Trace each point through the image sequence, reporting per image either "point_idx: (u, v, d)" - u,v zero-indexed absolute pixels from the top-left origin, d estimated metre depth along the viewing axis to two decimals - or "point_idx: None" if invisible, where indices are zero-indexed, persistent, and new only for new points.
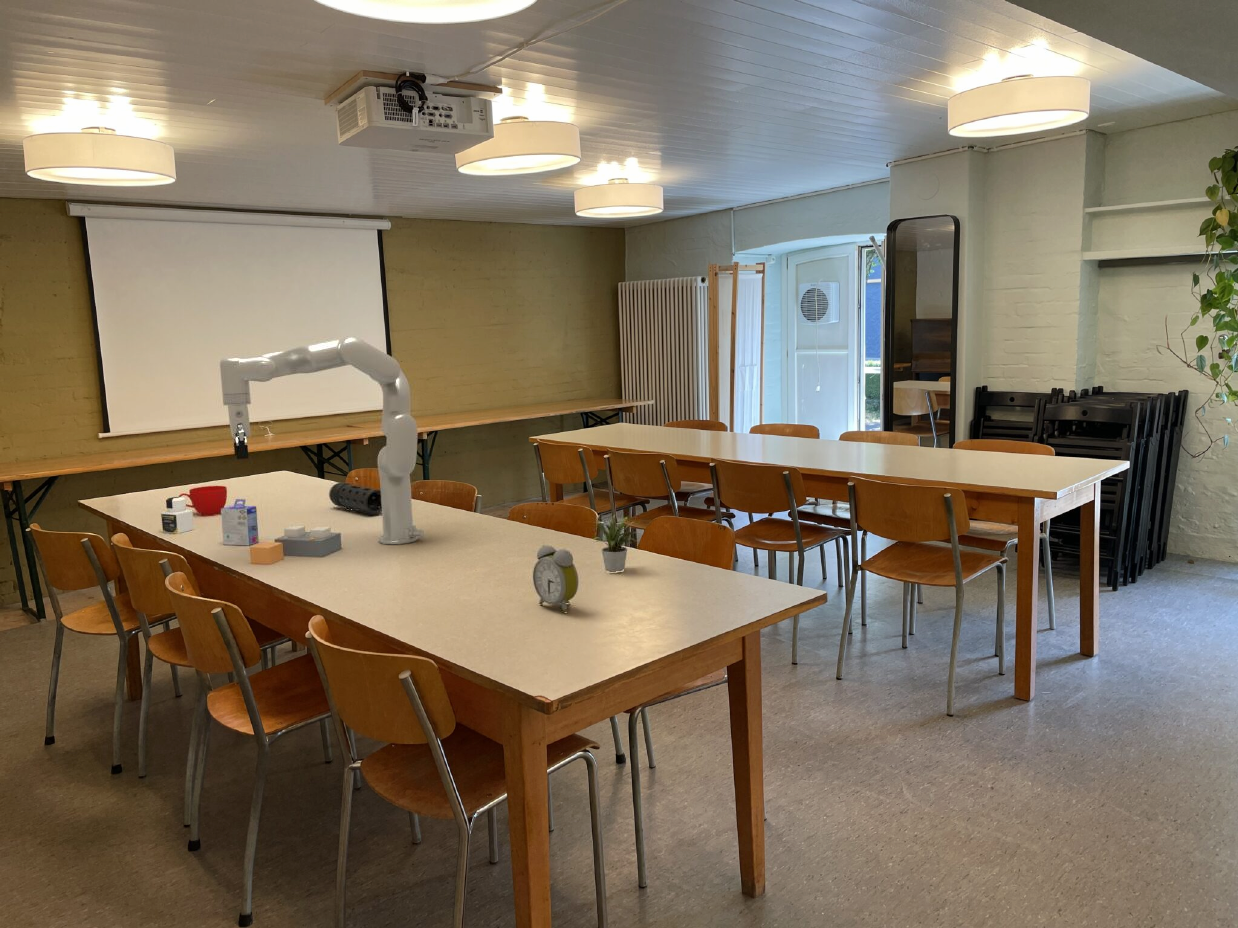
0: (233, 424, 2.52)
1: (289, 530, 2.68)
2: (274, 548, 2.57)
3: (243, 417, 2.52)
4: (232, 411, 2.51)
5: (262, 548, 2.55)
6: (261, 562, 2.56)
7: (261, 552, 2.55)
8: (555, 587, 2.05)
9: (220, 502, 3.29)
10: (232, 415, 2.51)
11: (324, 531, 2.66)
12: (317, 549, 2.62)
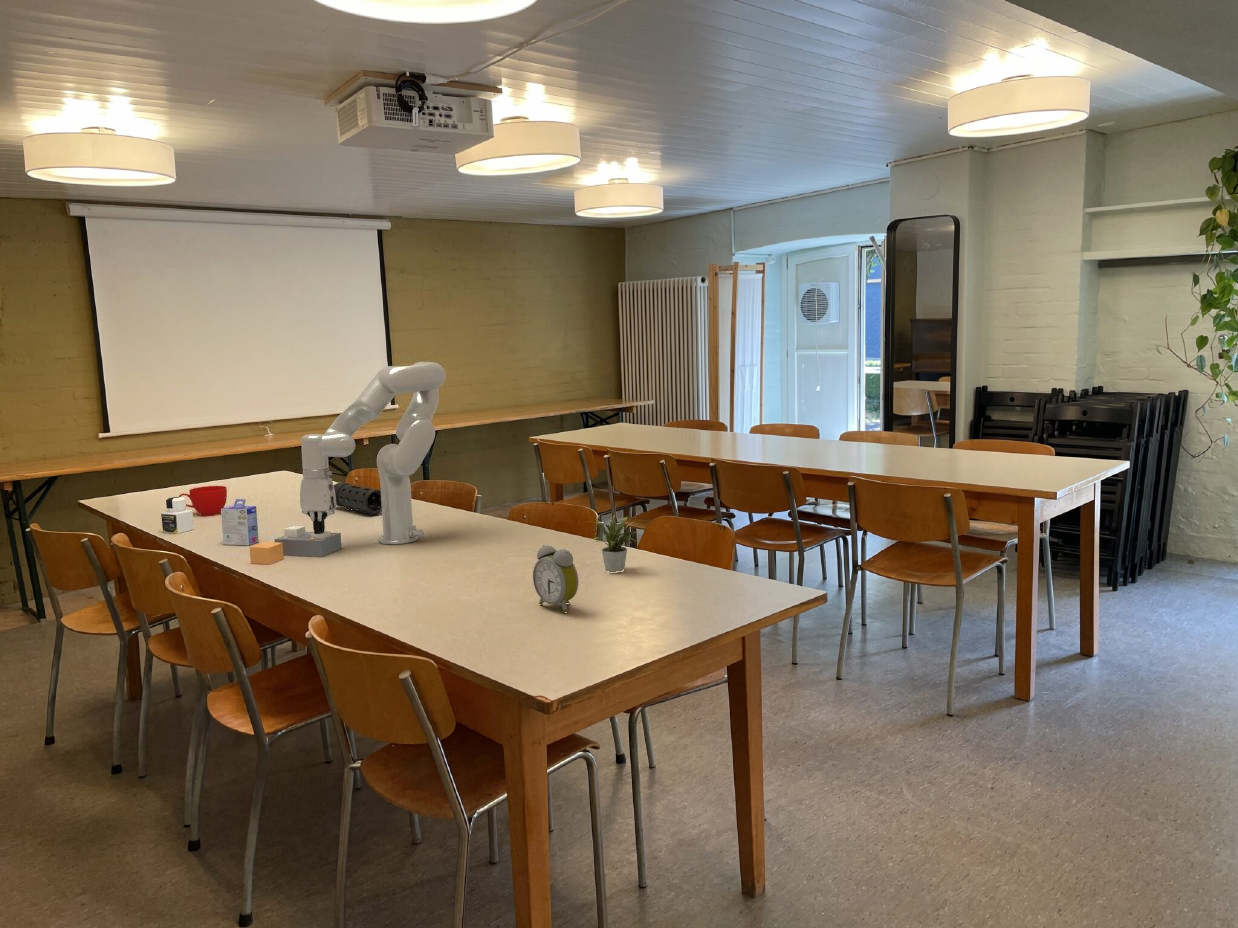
0: (328, 497, 2.63)
1: (289, 530, 2.68)
2: (274, 548, 2.57)
3: (333, 490, 2.66)
4: (326, 485, 2.63)
5: (262, 548, 2.55)
6: (261, 562, 2.56)
7: (261, 552, 2.55)
8: (555, 587, 2.05)
9: (220, 502, 3.29)
10: (326, 489, 2.63)
11: (324, 535, 2.66)
12: (317, 549, 2.62)
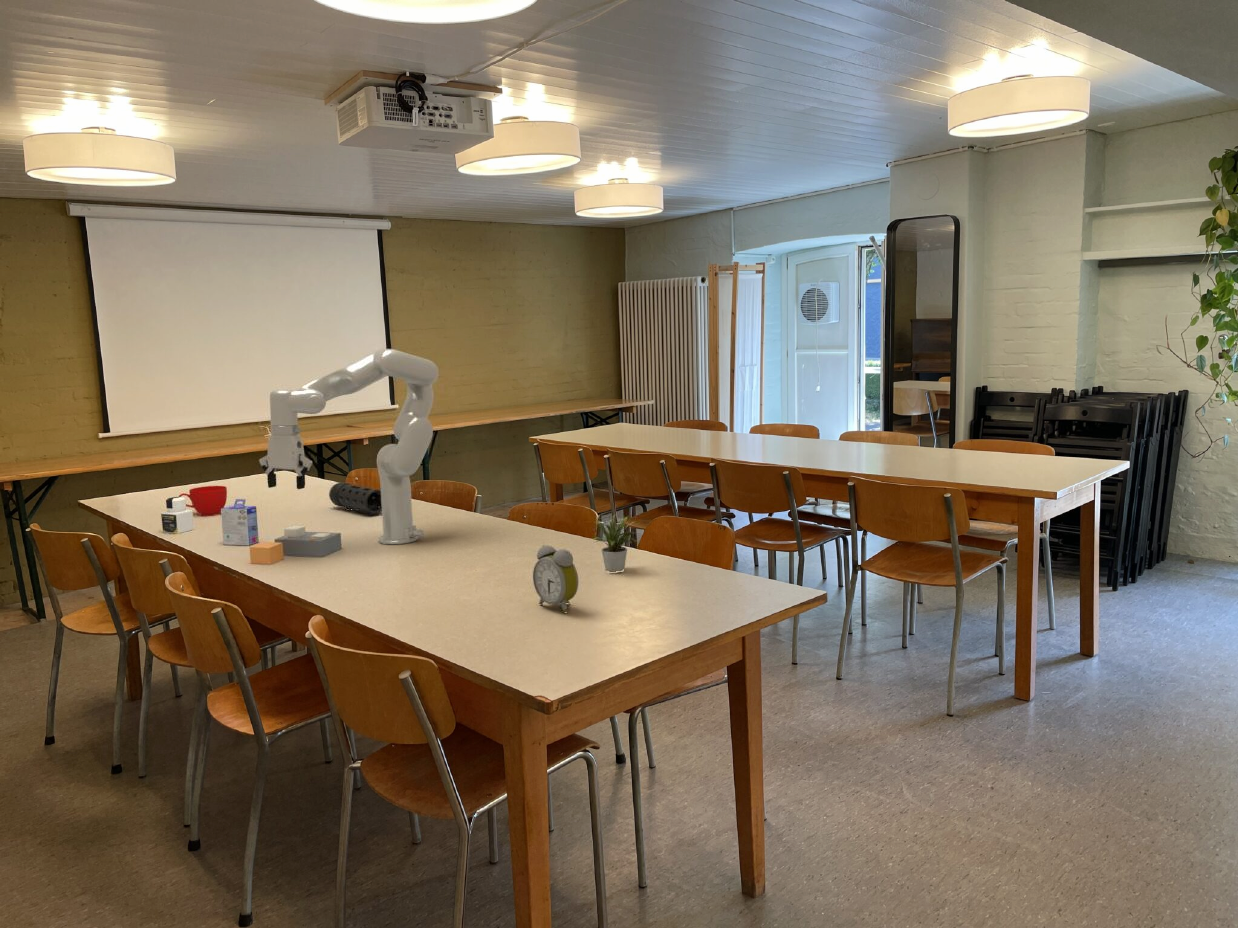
0: (296, 455, 2.56)
1: (289, 530, 2.68)
2: (274, 548, 2.57)
3: (301, 448, 2.59)
4: (294, 442, 2.56)
5: (262, 548, 2.55)
6: (261, 562, 2.56)
7: (261, 552, 2.55)
8: (555, 587, 2.05)
9: (220, 502, 3.29)
10: (294, 446, 2.56)
11: (324, 537, 2.66)
12: (317, 549, 2.62)
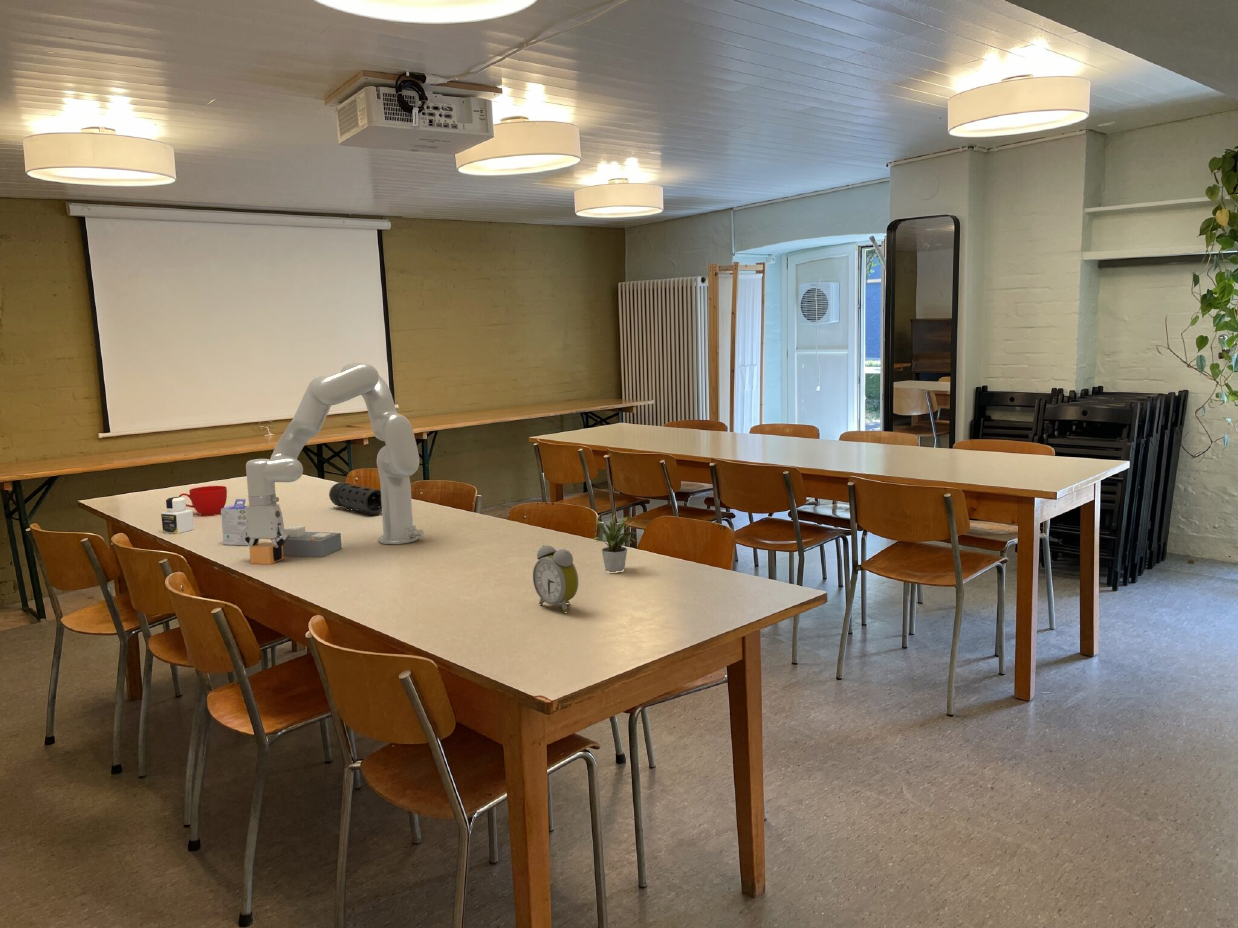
0: (275, 525, 2.55)
1: (289, 530, 2.68)
2: None
3: (280, 516, 2.57)
4: (272, 512, 2.54)
5: (262, 548, 2.55)
6: (261, 562, 2.56)
7: (261, 552, 2.55)
8: (555, 587, 2.05)
9: (220, 502, 3.29)
10: (273, 516, 2.54)
11: (324, 537, 2.66)
12: (317, 549, 2.62)
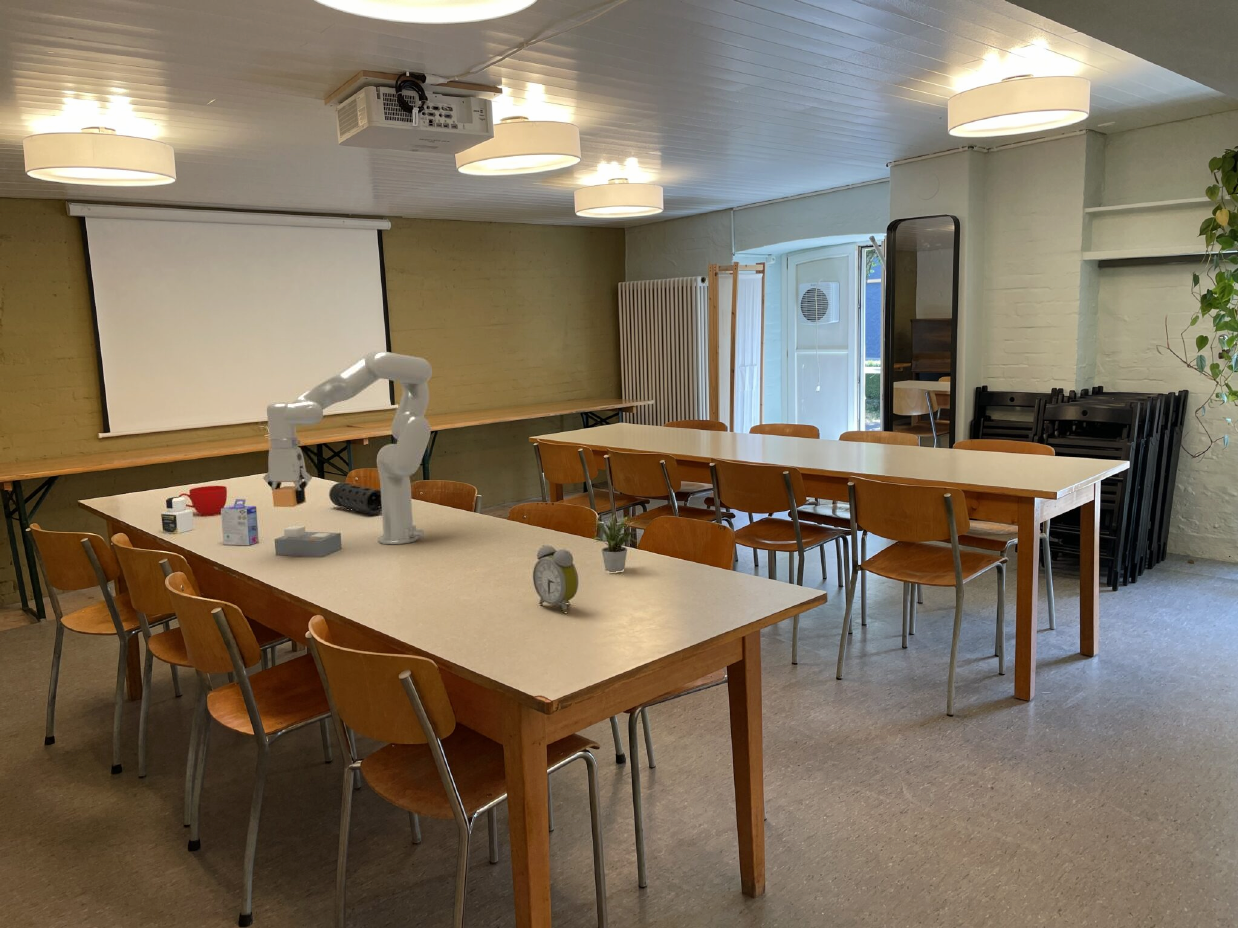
0: (297, 467, 2.57)
1: (289, 530, 2.68)
2: None
3: (302, 459, 2.59)
4: (294, 455, 2.56)
5: (285, 491, 2.57)
6: (284, 505, 2.58)
7: (283, 495, 2.57)
8: (555, 587, 2.05)
9: (220, 502, 3.29)
10: (295, 459, 2.56)
11: (324, 537, 2.66)
12: (317, 549, 2.62)
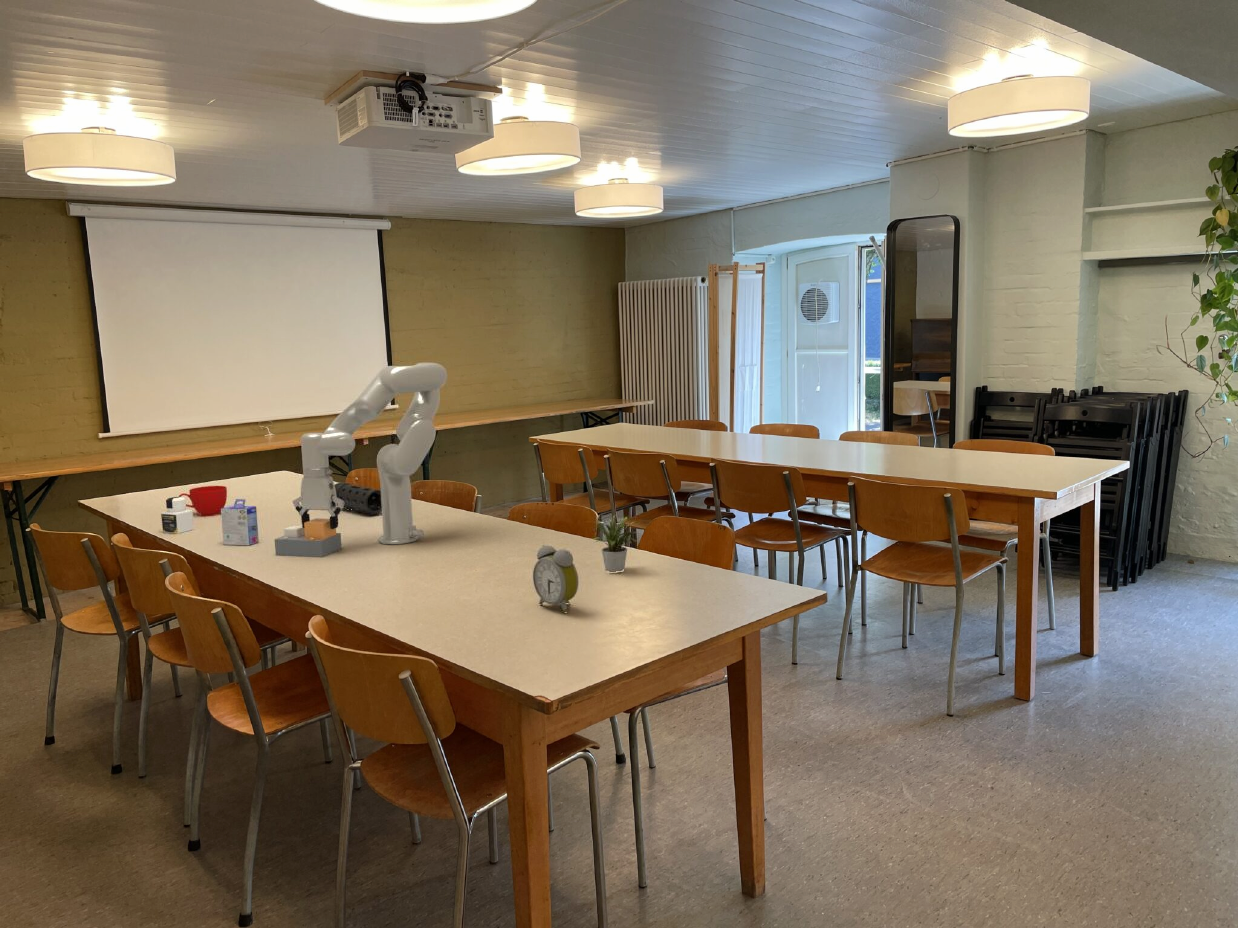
0: (328, 496, 2.63)
1: (289, 530, 2.68)
2: (328, 523, 2.66)
3: (333, 488, 2.66)
4: (326, 484, 2.63)
5: (316, 523, 2.64)
6: (315, 537, 2.65)
7: (315, 528, 2.64)
8: (555, 587, 2.05)
9: (220, 502, 3.29)
10: (327, 488, 2.63)
11: None
12: (317, 549, 2.62)
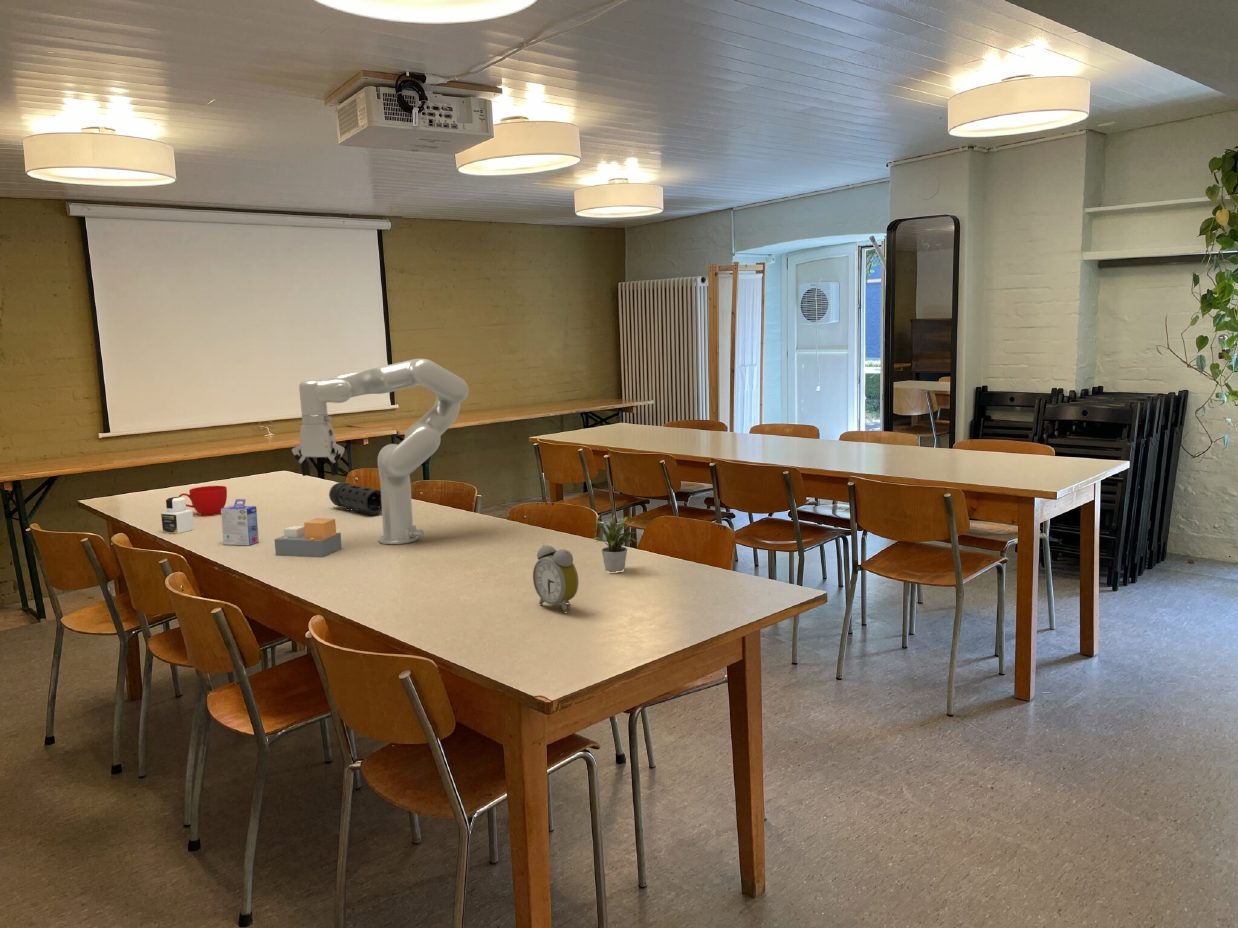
0: (328, 443, 2.65)
1: (289, 530, 2.68)
2: (328, 523, 2.66)
3: (333, 435, 2.67)
4: (326, 430, 2.65)
5: (316, 523, 2.64)
6: (315, 537, 2.65)
7: (315, 528, 2.64)
8: (555, 587, 2.05)
9: (220, 502, 3.29)
10: (327, 434, 2.65)
11: None
12: (317, 549, 2.62)
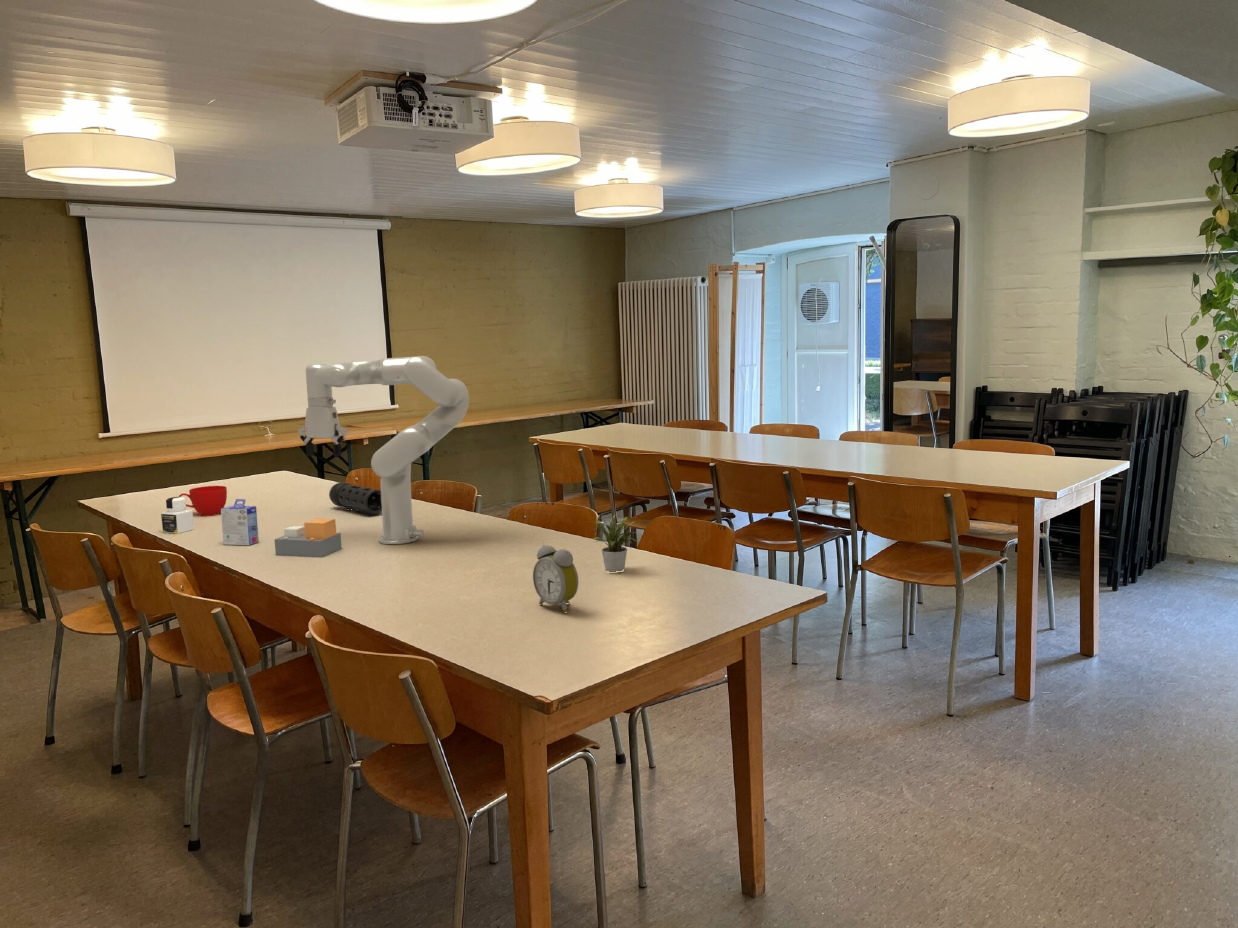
0: (332, 425, 2.75)
1: (289, 530, 2.68)
2: (328, 523, 2.66)
3: (337, 418, 2.77)
4: (330, 413, 2.74)
5: (316, 523, 2.64)
6: (315, 537, 2.65)
7: (315, 528, 2.64)
8: (555, 587, 2.05)
9: (220, 502, 3.29)
10: (330, 416, 2.74)
11: None
12: (317, 549, 2.62)
